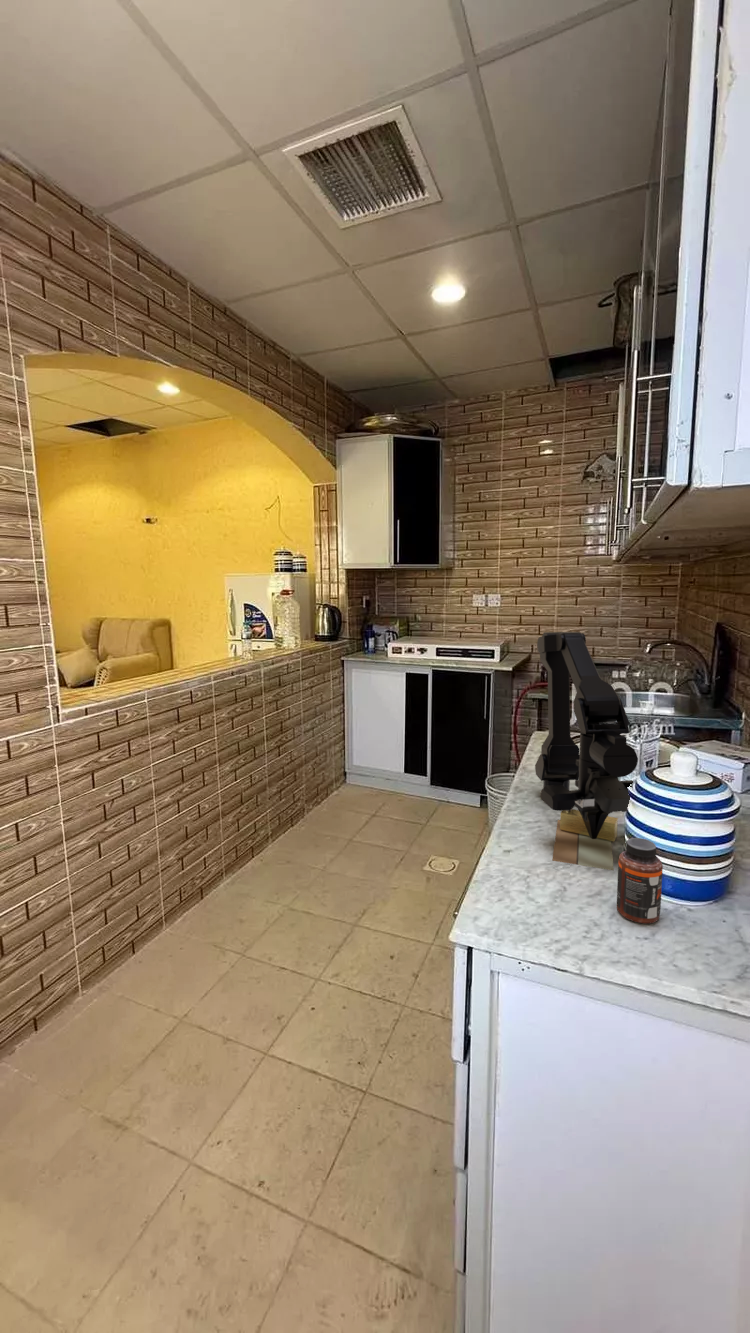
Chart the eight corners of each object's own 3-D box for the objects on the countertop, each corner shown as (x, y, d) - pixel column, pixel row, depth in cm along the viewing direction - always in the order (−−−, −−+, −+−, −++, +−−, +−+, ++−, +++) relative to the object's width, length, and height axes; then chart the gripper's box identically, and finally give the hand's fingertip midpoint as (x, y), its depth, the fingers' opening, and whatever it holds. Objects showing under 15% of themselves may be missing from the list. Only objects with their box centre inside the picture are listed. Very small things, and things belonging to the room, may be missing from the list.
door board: (557, 825, 110) (557, 819, 110) (609, 832, 107) (609, 826, 106) (552, 866, 94) (552, 860, 94) (613, 876, 90) (613, 870, 90)
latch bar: (560, 829, 105) (560, 808, 104) (564, 823, 108) (564, 803, 107) (614, 841, 100) (615, 819, 99) (617, 835, 102) (617, 814, 101)
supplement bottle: (665, 928, 76) (670, 854, 75) (621, 923, 78) (625, 851, 76) (652, 904, 82) (656, 835, 81) (612, 900, 83) (615, 833, 82)
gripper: (568, 776, 88) (566, 863, 91) (671, 769, 91) (666, 855, 93) (540, 756, 99) (538, 834, 102) (633, 750, 101) (629, 827, 104)
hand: (592, 838), depth 100 cm, fingers closed
